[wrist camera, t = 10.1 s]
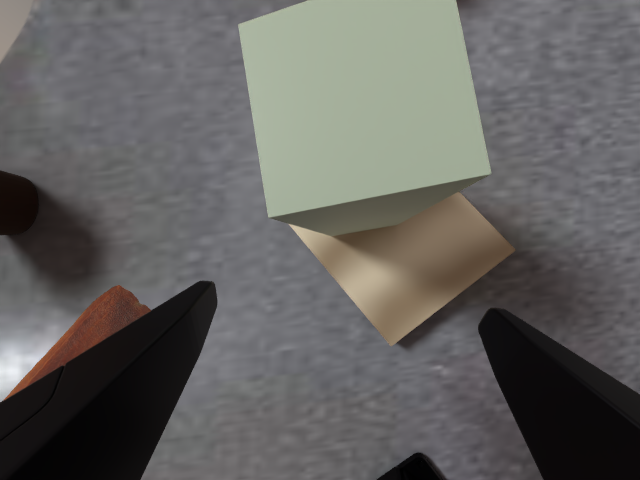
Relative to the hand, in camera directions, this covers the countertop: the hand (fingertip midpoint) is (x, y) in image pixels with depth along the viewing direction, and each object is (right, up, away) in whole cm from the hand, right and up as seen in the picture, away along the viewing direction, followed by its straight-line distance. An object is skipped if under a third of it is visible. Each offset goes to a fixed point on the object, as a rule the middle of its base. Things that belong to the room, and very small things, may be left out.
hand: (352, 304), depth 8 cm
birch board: (+4, +3, +12) cm, 13 cm away
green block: (+2, +5, +10) cm, 12 cm away
